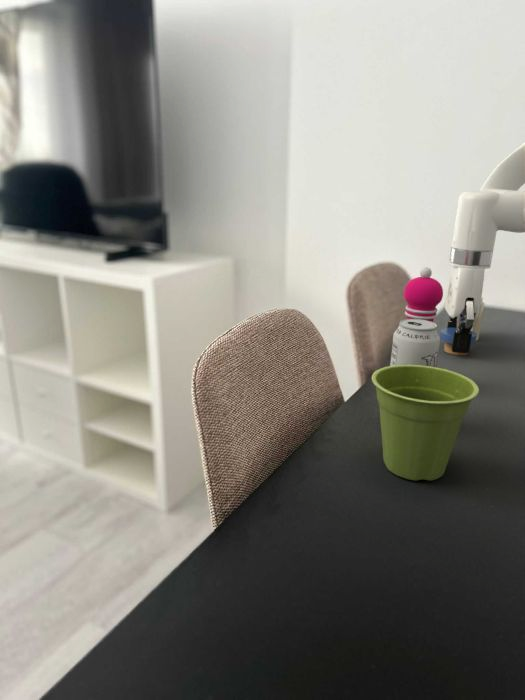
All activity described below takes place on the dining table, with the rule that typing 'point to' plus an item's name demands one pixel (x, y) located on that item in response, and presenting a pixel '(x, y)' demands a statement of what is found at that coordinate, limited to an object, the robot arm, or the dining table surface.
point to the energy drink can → (415, 343)
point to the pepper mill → (423, 297)
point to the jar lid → (448, 335)
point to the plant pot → (420, 417)
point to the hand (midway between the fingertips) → (456, 345)
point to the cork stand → (449, 349)
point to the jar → (478, 320)
